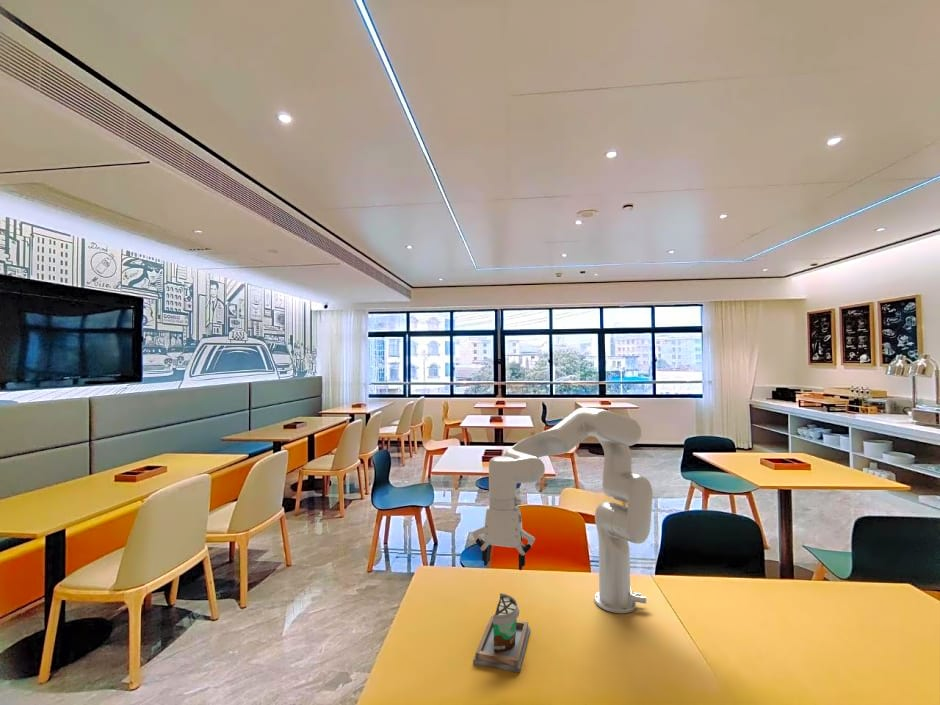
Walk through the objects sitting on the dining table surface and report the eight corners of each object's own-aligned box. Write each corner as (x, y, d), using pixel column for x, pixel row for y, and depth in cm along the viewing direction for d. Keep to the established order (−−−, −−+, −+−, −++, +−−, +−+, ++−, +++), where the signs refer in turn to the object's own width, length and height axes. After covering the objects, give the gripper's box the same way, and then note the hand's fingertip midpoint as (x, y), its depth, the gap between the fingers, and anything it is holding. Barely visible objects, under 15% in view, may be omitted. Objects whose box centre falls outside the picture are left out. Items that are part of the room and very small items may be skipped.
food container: (516, 659, 109) (516, 619, 110) (492, 655, 111) (492, 616, 111) (521, 630, 121) (521, 594, 122) (500, 627, 123) (500, 592, 123)
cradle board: (530, 630, 123) (530, 621, 123) (519, 672, 106) (519, 662, 106) (489, 623, 127) (489, 614, 127) (473, 663, 109) (473, 653, 109)
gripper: (536, 501, 119) (537, 563, 118) (476, 496, 124) (476, 556, 123) (532, 509, 112) (533, 576, 111) (468, 504, 117) (469, 568, 116)
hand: (503, 565), depth 117 cm, fingers open, 9 cm apart
